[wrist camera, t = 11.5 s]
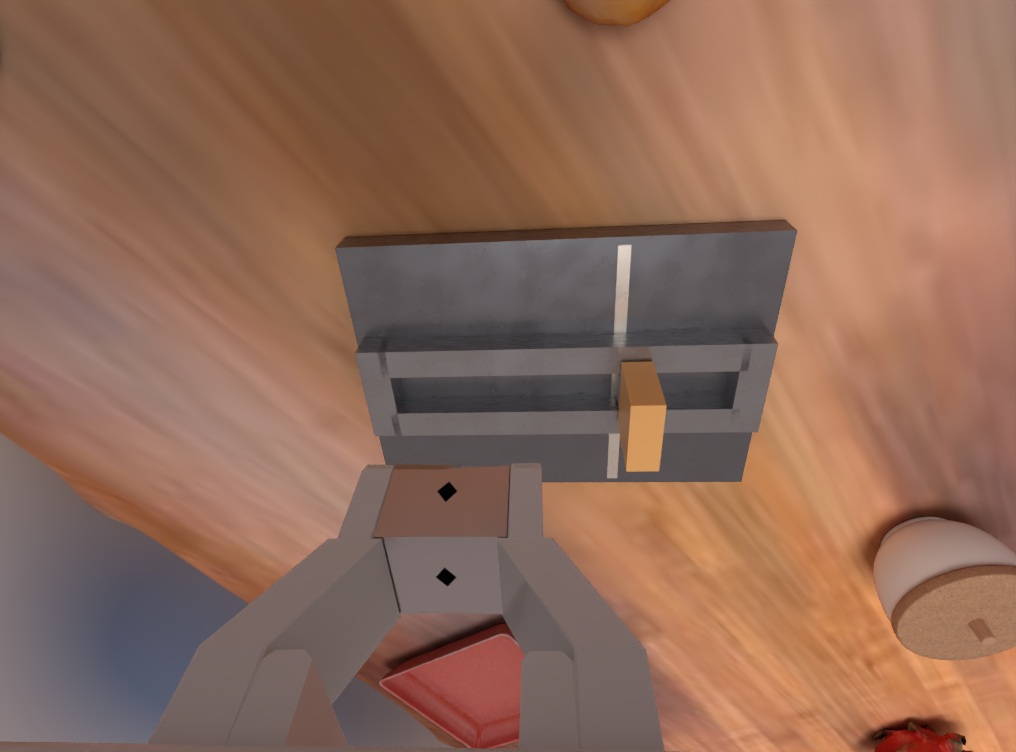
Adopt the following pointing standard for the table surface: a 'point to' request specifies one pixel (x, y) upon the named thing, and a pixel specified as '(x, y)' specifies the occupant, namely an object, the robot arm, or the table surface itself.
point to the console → (567, 343)
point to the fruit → (615, 10)
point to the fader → (640, 415)
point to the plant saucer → (466, 687)
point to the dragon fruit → (918, 740)
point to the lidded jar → (947, 588)
